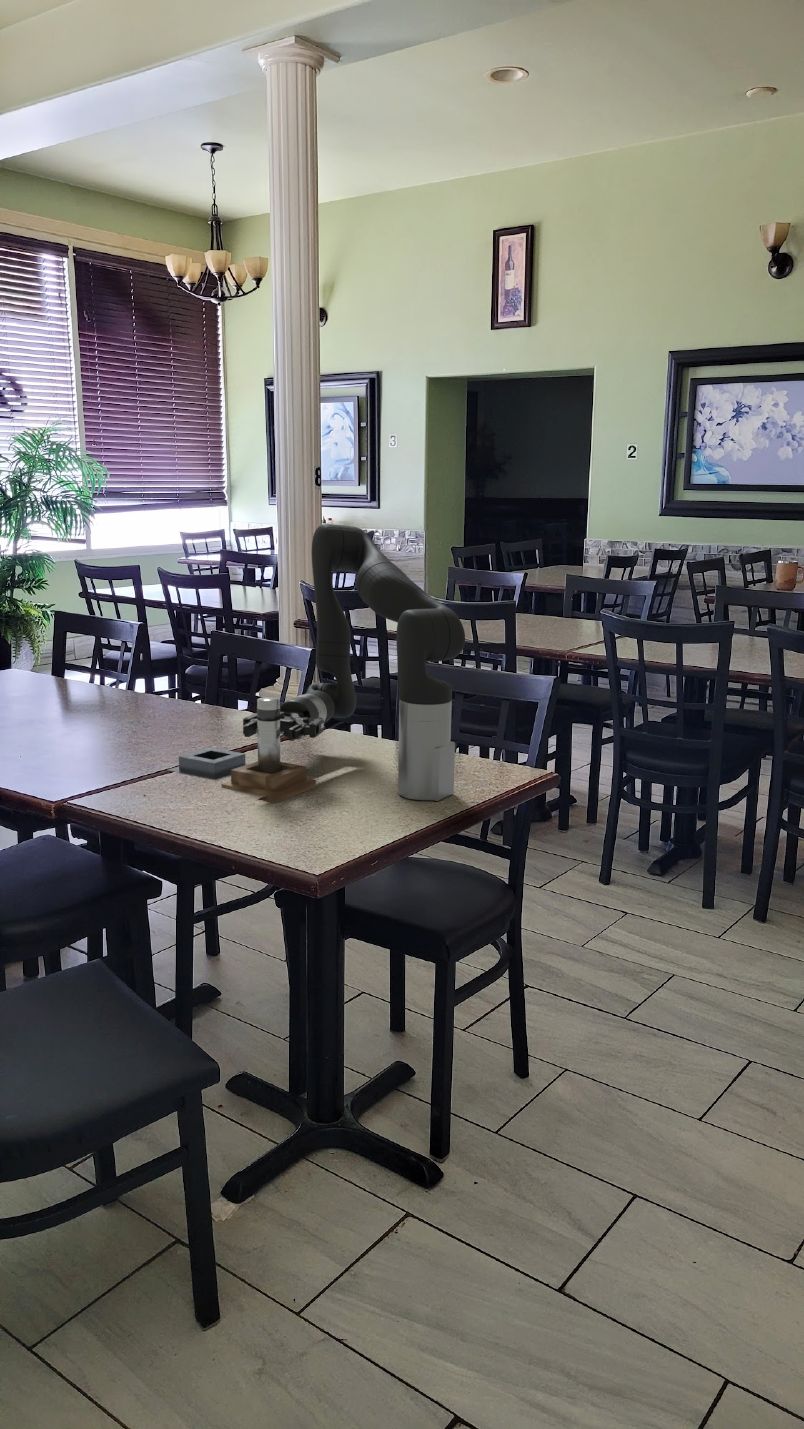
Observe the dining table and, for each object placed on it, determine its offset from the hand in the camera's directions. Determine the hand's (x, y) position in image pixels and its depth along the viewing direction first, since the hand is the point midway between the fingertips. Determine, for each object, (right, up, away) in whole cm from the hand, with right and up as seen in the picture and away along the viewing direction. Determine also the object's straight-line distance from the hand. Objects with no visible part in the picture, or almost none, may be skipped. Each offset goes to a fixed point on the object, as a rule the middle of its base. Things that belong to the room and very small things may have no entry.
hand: (268, 733), depth 185 cm
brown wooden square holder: (0, -10, +2) cm, 11 cm away
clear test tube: (0, -9, +2) cm, 9 cm away
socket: (-12, -8, +13) cm, 20 cm away
